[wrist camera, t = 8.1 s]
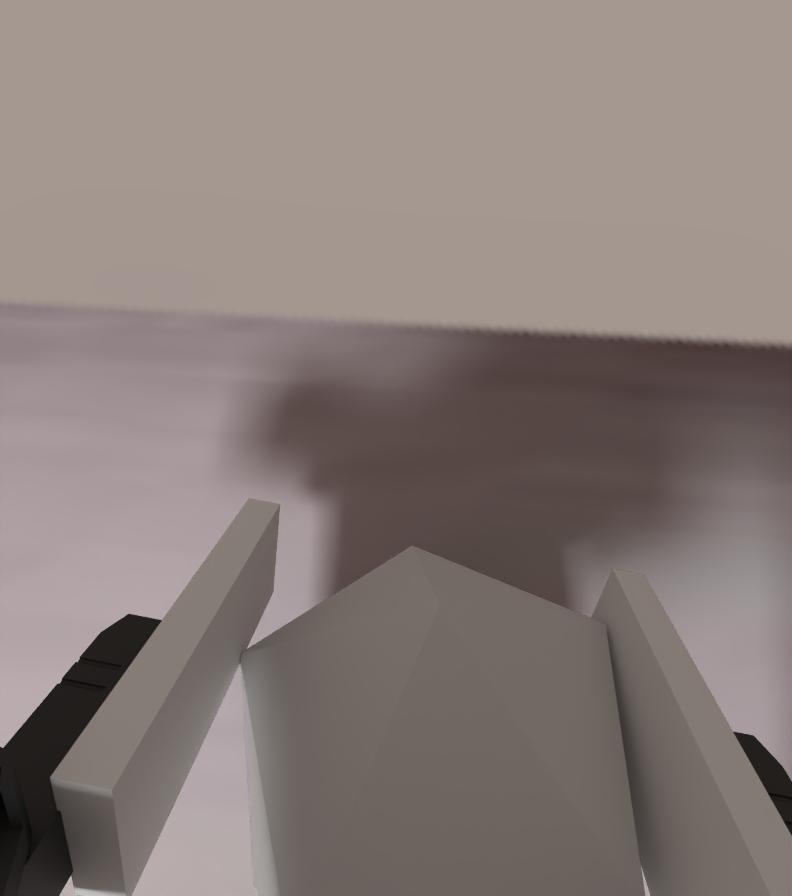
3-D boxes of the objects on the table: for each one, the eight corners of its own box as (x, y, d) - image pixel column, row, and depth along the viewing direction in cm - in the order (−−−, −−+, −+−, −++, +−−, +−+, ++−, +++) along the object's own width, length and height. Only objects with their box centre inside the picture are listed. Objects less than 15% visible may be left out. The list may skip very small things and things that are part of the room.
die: (259, 899, 14) (554, 1511, 6) (132, 627, 12) (294, 950, 4) (464, 706, 18) (788, 897, 10) (391, 490, 16) (709, 515, 8)
